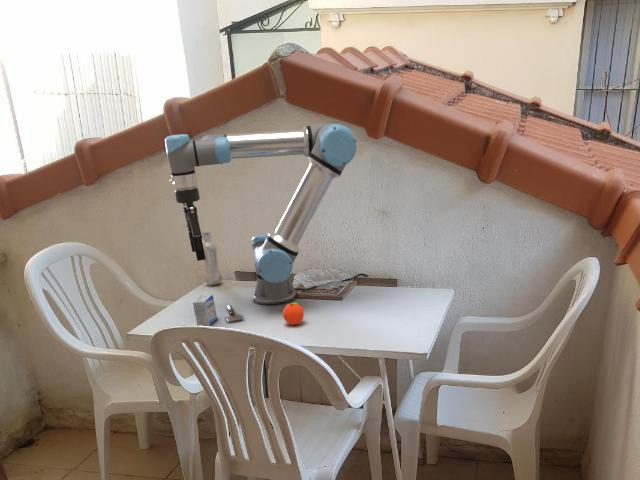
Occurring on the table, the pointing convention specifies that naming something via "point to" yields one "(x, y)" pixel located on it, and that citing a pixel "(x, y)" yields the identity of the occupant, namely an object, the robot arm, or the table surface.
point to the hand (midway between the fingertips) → (198, 255)
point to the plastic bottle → (211, 260)
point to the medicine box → (205, 310)
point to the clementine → (293, 313)
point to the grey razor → (233, 315)
